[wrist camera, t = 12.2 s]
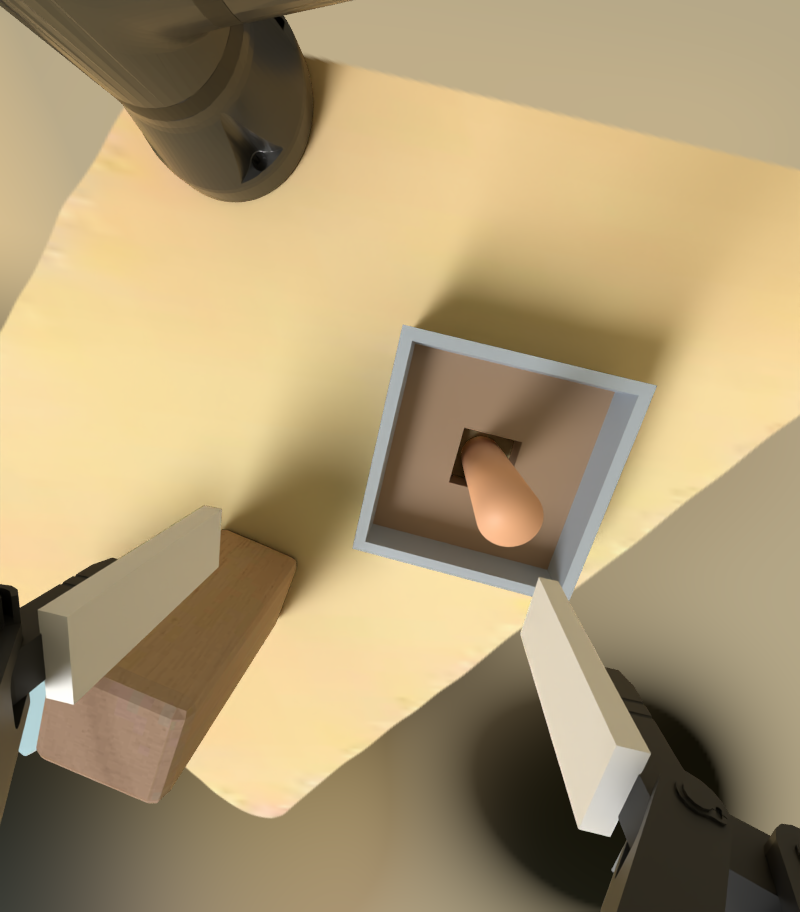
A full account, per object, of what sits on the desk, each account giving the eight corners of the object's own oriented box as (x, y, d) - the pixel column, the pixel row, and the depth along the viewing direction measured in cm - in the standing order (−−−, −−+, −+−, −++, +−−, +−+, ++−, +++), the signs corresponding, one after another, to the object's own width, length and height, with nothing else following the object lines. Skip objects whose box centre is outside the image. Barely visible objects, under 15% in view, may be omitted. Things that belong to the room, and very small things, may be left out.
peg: (466, 431, 38) (486, 477, 22) (505, 441, 37) (552, 494, 22) (456, 468, 39) (468, 537, 23) (493, 478, 38) (531, 553, 23)
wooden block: (201, 592, 45) (26, 760, 26) (222, 523, 43) (45, 653, 24) (276, 624, 45) (156, 816, 26) (302, 557, 43) (189, 714, 24)
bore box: (409, 332, 36) (402, 324, 29) (614, 381, 35) (657, 385, 28) (366, 518, 41) (352, 548, 34) (545, 565, 40) (567, 605, 33)
